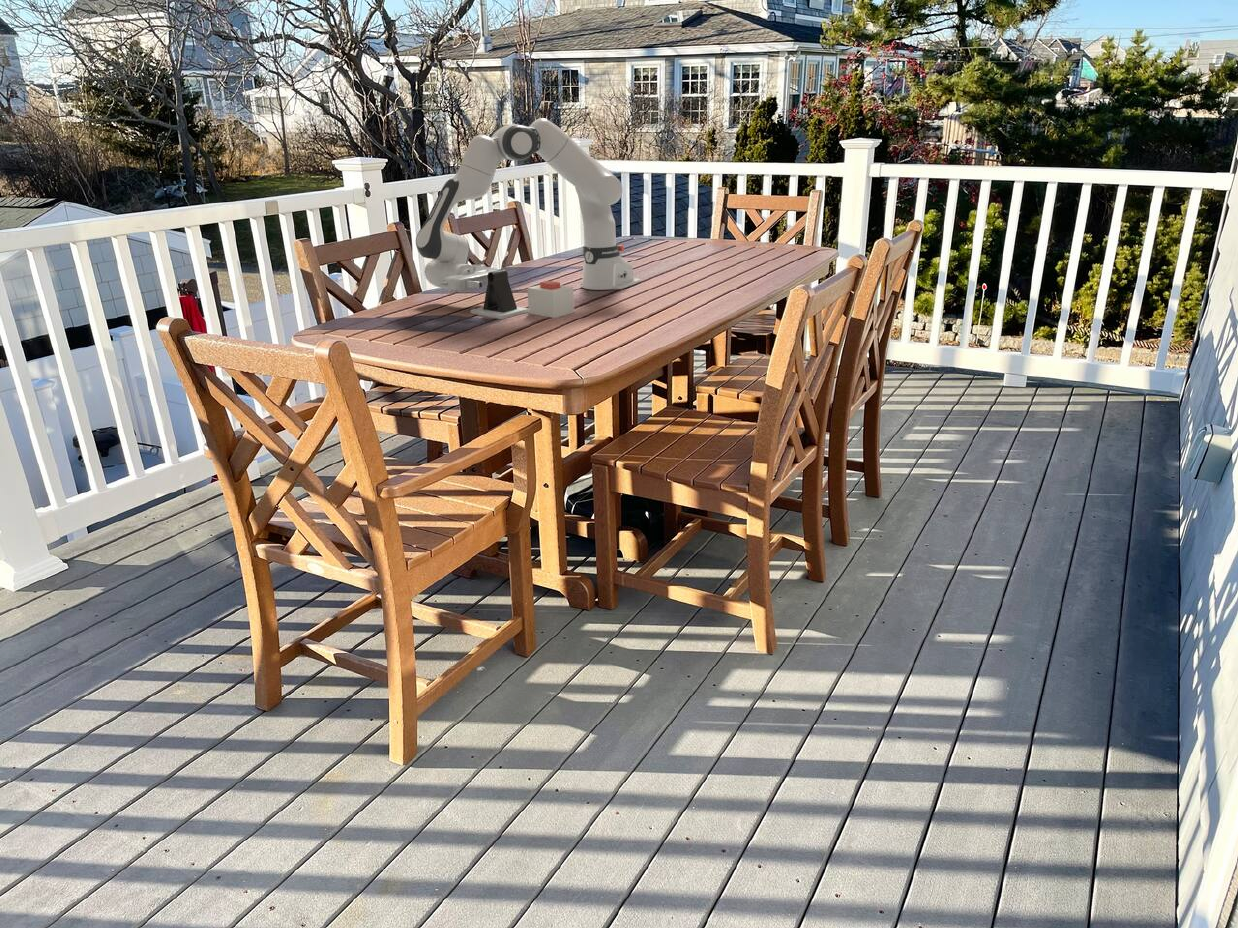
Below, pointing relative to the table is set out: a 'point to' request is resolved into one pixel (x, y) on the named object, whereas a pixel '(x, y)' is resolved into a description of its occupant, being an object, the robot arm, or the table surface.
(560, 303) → the box
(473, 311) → the grey mat
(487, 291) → the phone stand
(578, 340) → the table surface
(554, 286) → the button
